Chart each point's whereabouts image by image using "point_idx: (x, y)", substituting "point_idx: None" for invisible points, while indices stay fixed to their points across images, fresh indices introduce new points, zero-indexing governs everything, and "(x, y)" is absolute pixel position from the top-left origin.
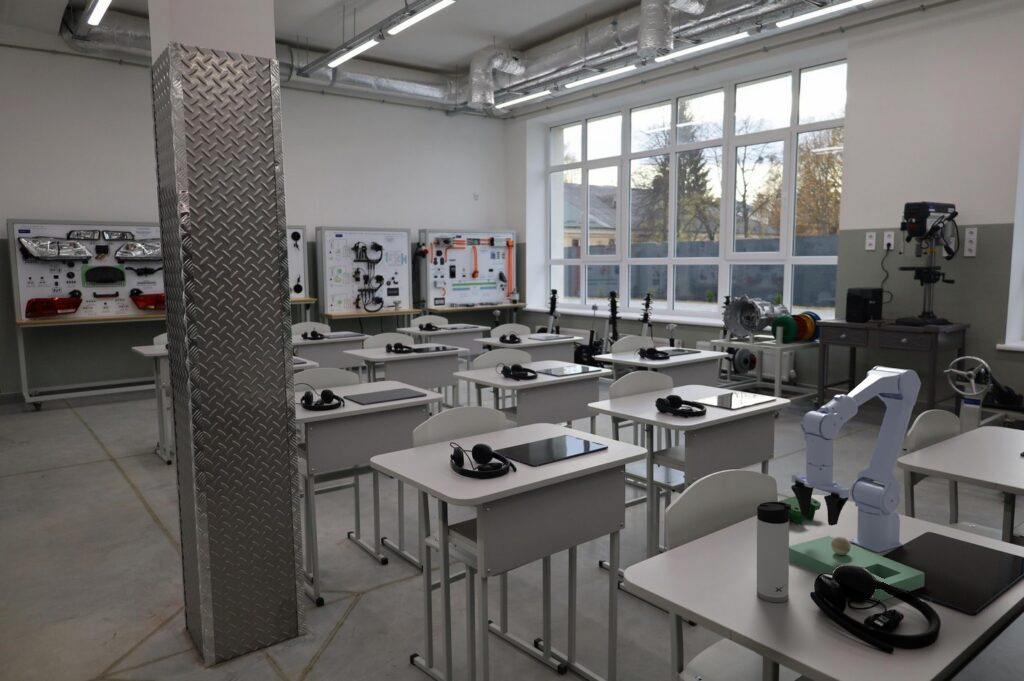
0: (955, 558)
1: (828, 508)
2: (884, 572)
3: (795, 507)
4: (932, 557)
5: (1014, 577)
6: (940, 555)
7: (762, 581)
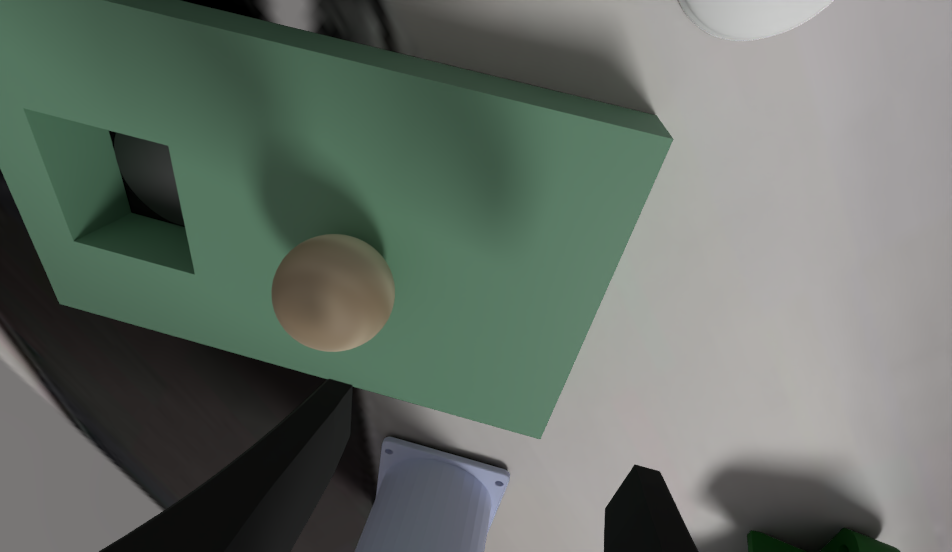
0: None
1: (205, 536)
2: (183, 248)
3: None
4: None
5: (110, 459)
6: None
7: None
